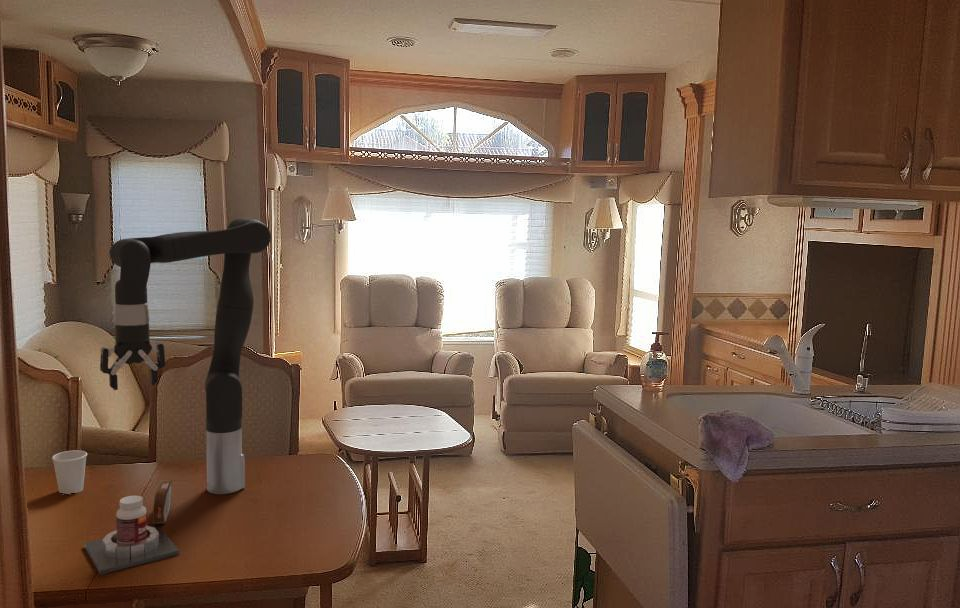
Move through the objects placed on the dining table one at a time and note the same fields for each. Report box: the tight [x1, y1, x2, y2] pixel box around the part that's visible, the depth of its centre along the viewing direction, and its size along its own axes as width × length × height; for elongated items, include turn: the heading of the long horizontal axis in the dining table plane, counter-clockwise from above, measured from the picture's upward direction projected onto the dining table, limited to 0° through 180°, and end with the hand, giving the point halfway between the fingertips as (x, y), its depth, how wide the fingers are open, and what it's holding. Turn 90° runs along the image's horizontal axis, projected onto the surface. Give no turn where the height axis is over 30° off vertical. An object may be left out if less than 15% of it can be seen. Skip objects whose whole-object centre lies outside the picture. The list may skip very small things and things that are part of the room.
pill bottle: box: [115, 495, 148, 544], centre depth 162 cm, size 6×6×11 cm
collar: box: [83, 525, 180, 576], centre depth 163 cm, size 16×16×4 cm
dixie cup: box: [51, 449, 88, 495], centre depth 196 cm, size 8×8×10 cm
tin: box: [152, 479, 173, 525], centre depth 181 cm, size 15×3×8 cm, turn 16°
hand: (134, 387), depth 177 cm, fingers open, 8 cm apart
